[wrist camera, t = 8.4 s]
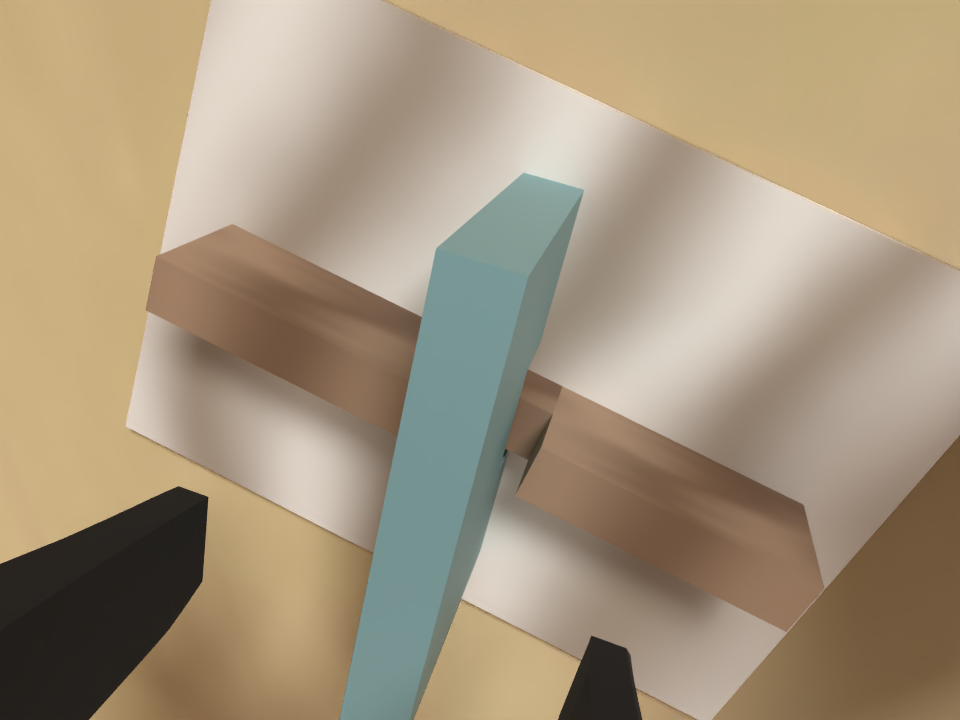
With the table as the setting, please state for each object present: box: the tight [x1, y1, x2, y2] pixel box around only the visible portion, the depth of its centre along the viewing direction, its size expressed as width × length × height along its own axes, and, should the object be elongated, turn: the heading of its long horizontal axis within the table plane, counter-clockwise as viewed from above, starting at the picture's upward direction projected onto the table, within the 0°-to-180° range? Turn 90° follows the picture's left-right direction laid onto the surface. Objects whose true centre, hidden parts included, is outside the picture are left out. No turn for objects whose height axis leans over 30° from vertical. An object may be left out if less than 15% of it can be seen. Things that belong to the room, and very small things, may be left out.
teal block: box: [340, 173, 584, 720], centre depth 18 cm, size 2×12×8 cm, turn 167°
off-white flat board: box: [126, 0, 960, 720], centre depth 20 cm, size 22×16×4 cm
